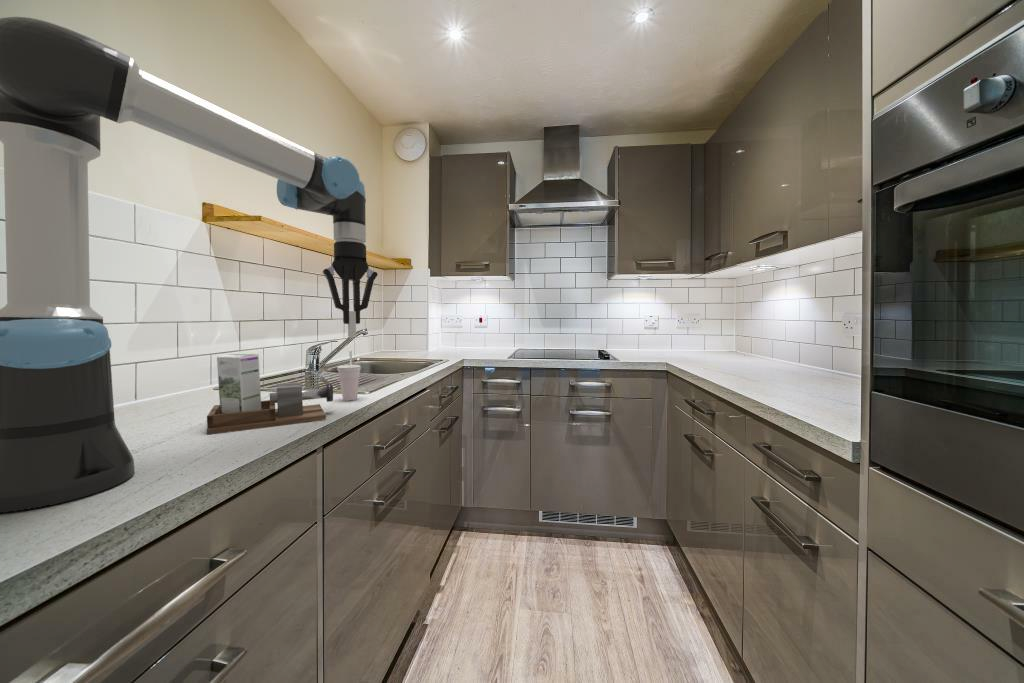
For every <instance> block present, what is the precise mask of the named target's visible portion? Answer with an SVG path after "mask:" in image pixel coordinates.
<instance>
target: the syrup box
mask: <svg viewBox="0 0 1024 683" xmlns="http://www.w3.org/2000/svg"><path fill="white" fill-rule="evenodd" d="M259 357H260V356H259V354H258V353H257V354H255V353H232V354H231V353H230V354H223V355H218V356H217V355H216V362H217V363H216V364H217V380H218V394H219V395H218V396H219V405H220V414H226V413H236V412H245V411H254V410H262V408H261V401H262V398H261V396H262V395H261V376H260V358H259Z"/></svg>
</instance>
